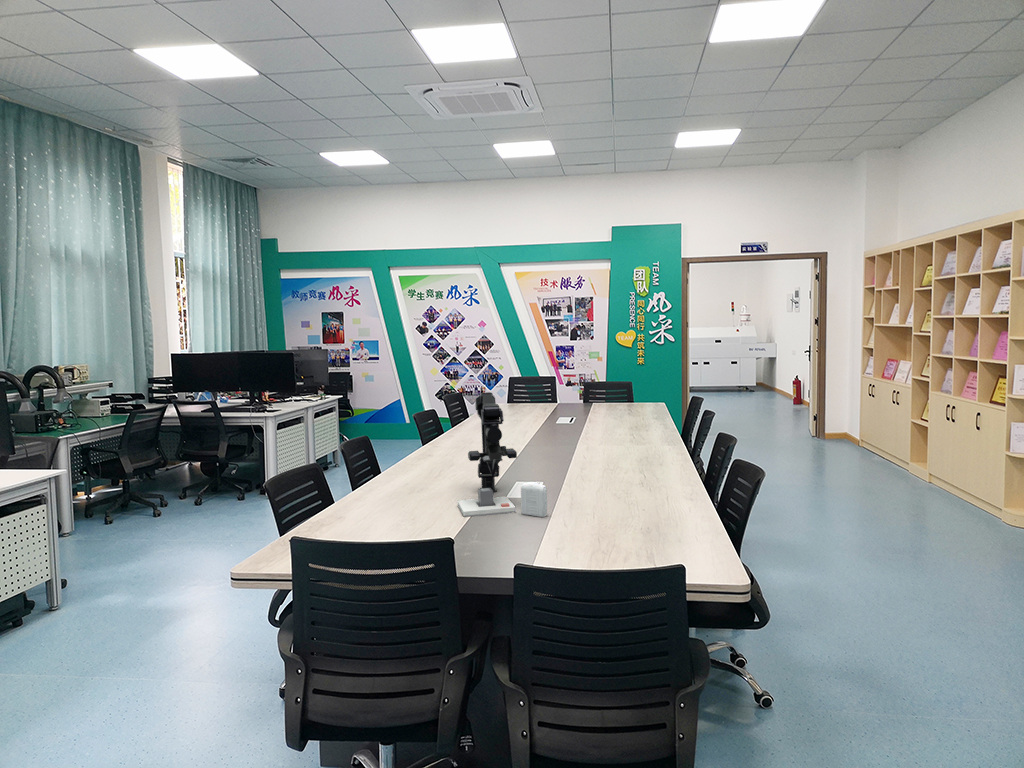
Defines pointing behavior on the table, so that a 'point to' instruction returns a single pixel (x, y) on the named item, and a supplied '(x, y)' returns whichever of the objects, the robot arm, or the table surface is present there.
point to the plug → (485, 497)
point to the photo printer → (534, 499)
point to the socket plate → (486, 507)
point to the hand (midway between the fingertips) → (492, 475)
